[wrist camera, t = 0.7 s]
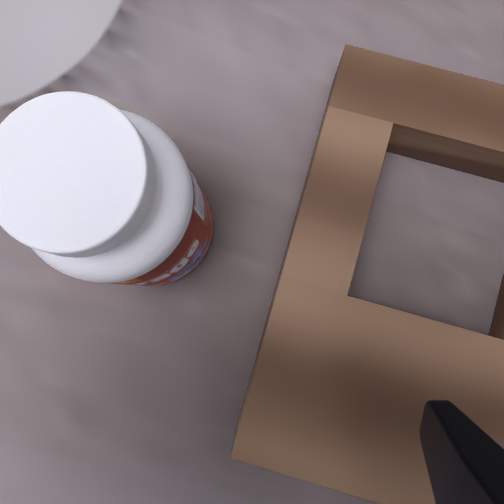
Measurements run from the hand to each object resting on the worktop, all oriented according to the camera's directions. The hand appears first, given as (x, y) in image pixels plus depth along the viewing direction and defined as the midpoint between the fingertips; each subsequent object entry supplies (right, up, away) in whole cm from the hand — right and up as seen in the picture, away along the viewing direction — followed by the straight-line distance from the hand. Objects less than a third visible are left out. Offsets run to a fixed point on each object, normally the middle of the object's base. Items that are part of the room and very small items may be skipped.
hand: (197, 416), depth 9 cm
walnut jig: (+10, +1, +14) cm, 17 cm away
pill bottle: (-4, +5, +15) cm, 16 cm away
